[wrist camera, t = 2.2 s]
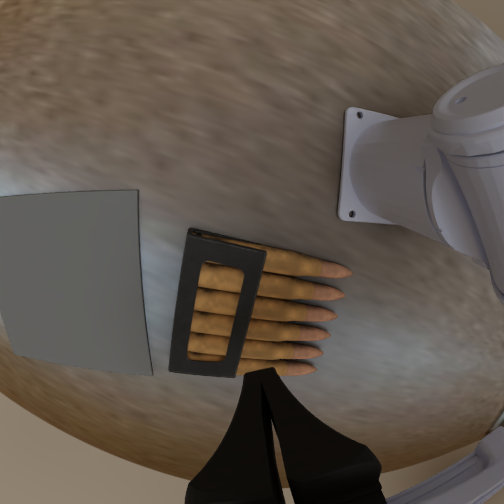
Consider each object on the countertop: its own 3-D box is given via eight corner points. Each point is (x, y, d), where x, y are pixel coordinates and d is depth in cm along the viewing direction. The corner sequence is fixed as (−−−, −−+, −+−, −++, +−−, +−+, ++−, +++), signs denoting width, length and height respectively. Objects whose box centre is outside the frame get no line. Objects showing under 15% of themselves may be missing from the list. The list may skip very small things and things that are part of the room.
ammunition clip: (170, 358, 22) (309, 371, 25) (168, 372, 21) (316, 384, 23) (188, 227, 20) (350, 257, 22) (187, 233, 18) (361, 266, 20)
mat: (138, 190, 19) (137, 190, 18) (153, 373, 23) (152, 376, 23) (-17, 198, 17) (-19, 199, 17) (15, 352, 21) (14, 354, 21)
